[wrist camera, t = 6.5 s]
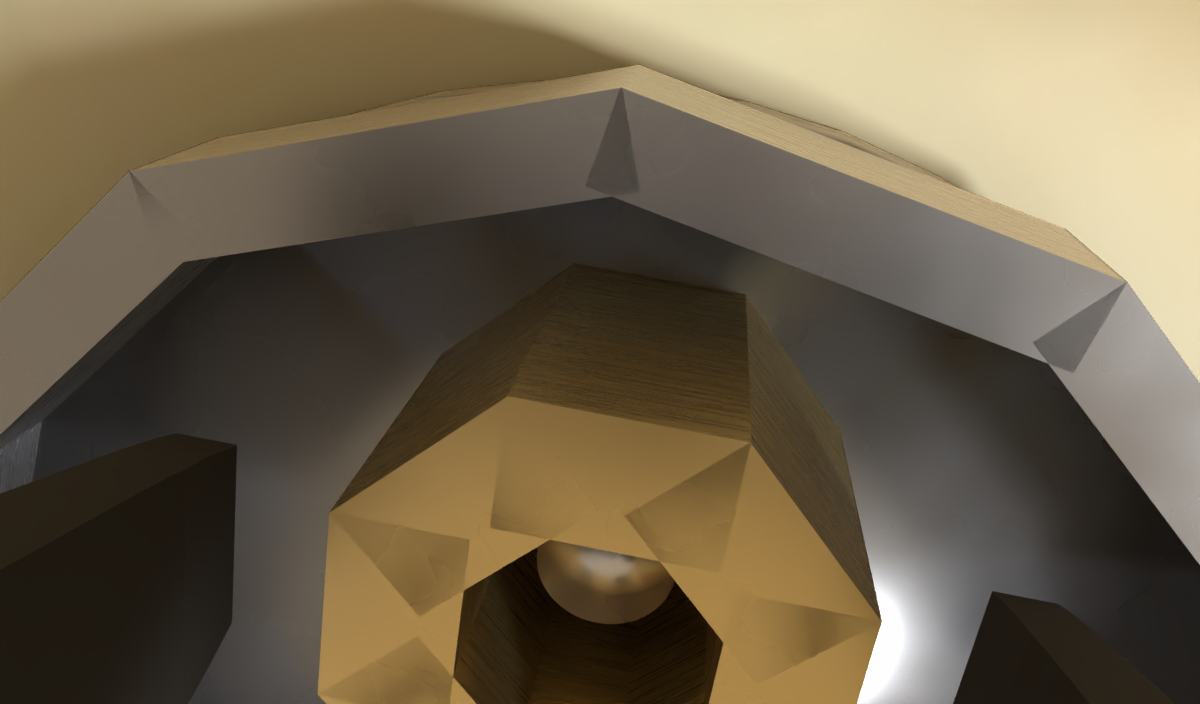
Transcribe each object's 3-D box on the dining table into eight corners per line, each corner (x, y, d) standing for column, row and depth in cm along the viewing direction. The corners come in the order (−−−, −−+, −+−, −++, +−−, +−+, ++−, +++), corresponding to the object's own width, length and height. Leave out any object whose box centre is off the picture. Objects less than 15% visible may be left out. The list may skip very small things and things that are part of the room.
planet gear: (585, 684, 15) (535, 932, 11) (356, 411, 14) (216, 586, 10) (901, 516, 13) (966, 737, 10) (674, 193, 12) (649, 303, 8)
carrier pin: (629, 485, 14) (598, 646, 11) (561, 409, 14) (508, 551, 11) (711, 428, 14) (704, 578, 10) (643, 348, 13) (614, 478, 10)
